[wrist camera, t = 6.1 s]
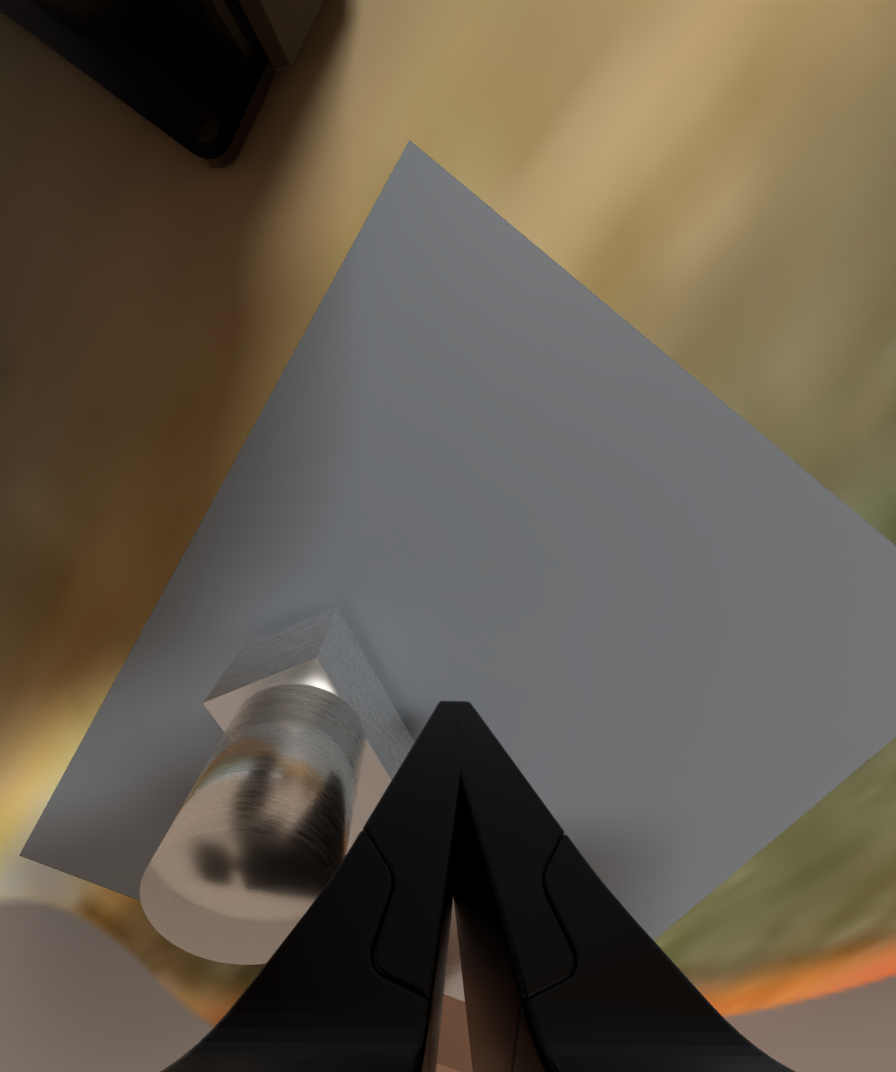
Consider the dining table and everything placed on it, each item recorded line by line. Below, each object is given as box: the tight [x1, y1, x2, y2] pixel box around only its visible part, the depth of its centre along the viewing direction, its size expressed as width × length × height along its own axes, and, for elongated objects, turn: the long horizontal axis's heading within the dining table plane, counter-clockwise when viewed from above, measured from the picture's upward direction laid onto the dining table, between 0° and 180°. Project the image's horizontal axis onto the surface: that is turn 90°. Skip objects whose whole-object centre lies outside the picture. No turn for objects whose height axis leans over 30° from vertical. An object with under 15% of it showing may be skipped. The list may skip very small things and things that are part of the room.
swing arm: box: [140, 607, 465, 1002], centre depth 11 cm, size 17×5×5 cm, turn 23°
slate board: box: [20, 140, 896, 940], centre depth 13 cm, size 18×20×1 cm
